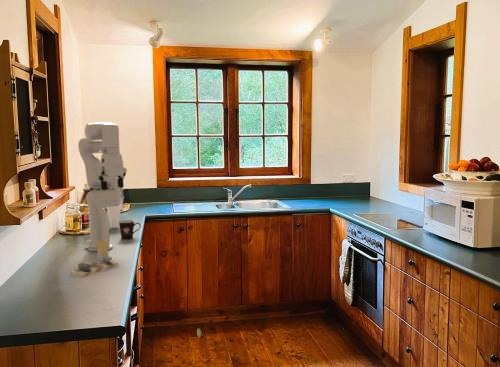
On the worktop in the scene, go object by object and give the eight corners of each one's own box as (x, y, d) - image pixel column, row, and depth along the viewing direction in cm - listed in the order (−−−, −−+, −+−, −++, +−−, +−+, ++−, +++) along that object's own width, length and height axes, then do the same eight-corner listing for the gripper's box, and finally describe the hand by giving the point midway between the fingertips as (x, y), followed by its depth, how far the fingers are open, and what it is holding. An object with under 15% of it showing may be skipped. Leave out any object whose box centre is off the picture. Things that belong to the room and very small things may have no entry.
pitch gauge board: (82, 277, 195) (82, 267, 195) (70, 274, 199) (69, 265, 199) (118, 265, 212) (117, 256, 212) (106, 262, 216) (105, 254, 216)
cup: (103, 227, 295) (102, 199, 293) (119, 224, 302) (118, 198, 299) (109, 229, 287) (107, 201, 285) (125, 227, 293) (124, 200, 291)
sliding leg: (107, 264, 207) (106, 242, 206) (97, 262, 211) (96, 240, 210) (112, 262, 210) (112, 241, 209) (102, 260, 214) (101, 239, 212)
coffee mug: (116, 239, 262) (115, 222, 260) (124, 236, 270) (123, 219, 269) (134, 240, 259) (134, 223, 258) (142, 237, 267) (141, 220, 266)
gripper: (101, 152, 197) (103, 191, 199) (131, 150, 211) (132, 186, 213) (89, 152, 200) (91, 190, 202) (119, 150, 215) (121, 186, 217)
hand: (112, 188), depth 208 cm, fingers open, 9 cm apart
